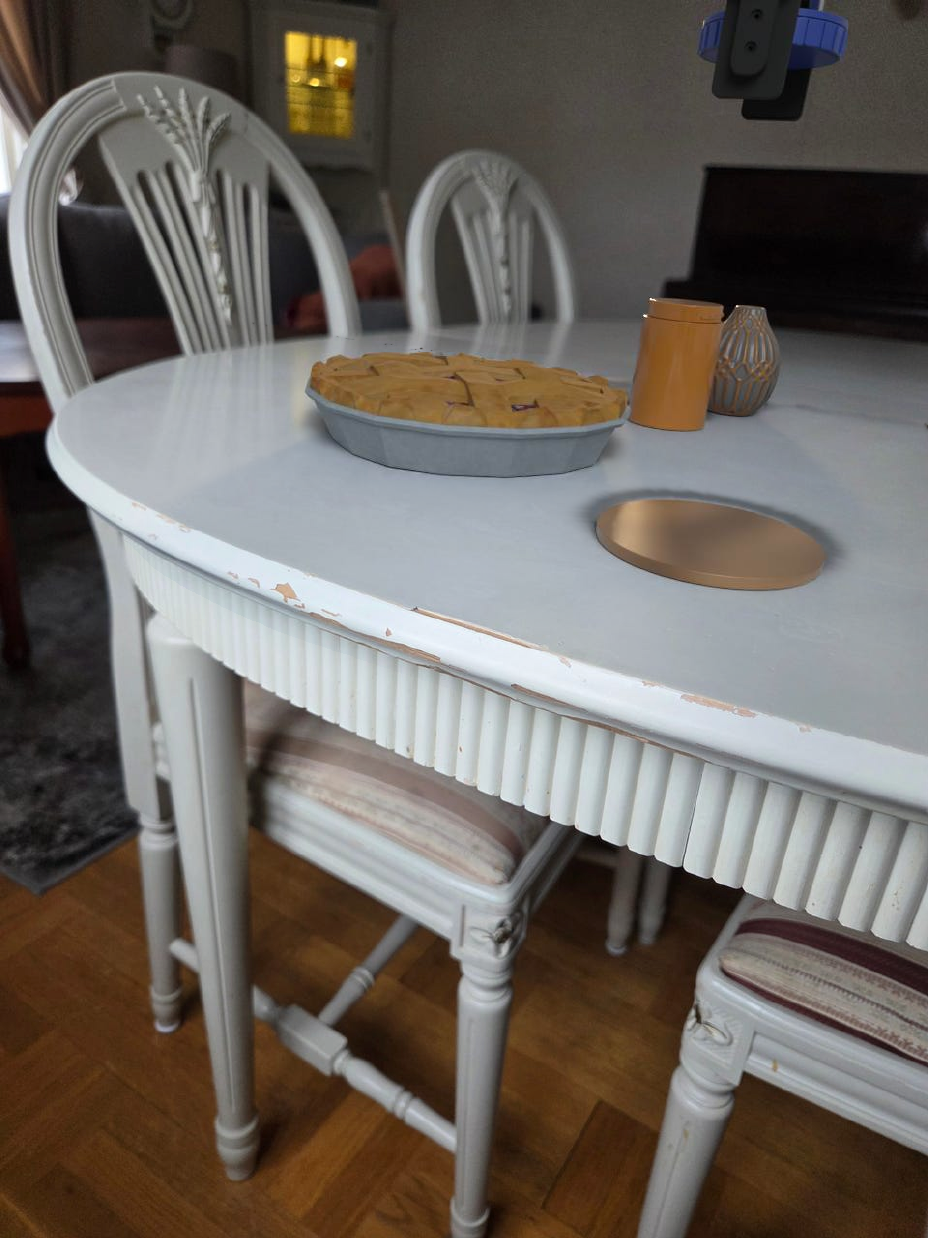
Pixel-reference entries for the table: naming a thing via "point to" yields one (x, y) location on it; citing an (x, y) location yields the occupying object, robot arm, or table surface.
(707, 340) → the jar
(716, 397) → the vase
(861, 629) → the table surface
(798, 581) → the coaster
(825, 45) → the lid
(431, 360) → the pie
